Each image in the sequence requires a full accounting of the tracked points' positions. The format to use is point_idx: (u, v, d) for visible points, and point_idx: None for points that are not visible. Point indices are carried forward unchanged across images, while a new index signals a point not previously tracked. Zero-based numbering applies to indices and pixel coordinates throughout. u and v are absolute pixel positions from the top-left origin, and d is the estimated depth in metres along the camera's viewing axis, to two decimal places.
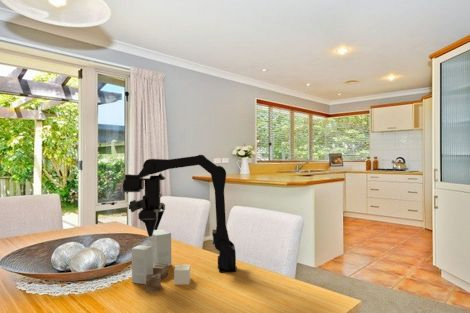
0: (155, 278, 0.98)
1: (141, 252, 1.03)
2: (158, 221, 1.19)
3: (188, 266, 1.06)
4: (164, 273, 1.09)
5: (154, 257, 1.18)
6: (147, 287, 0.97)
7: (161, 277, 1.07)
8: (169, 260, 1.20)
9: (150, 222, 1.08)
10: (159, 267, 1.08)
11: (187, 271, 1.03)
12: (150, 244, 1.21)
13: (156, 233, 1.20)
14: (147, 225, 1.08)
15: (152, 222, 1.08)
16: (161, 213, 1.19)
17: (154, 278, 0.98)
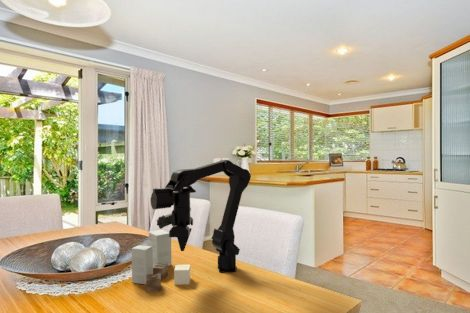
0: (155, 278, 0.98)
1: (141, 252, 1.03)
2: None
3: (188, 266, 1.06)
4: (164, 273, 1.09)
5: (154, 257, 1.18)
6: (147, 287, 0.97)
7: (161, 277, 1.07)
8: (169, 260, 1.20)
9: (182, 236, 1.04)
10: (159, 267, 1.08)
11: (187, 271, 1.03)
12: (150, 244, 1.21)
13: (156, 233, 1.20)
14: (179, 239, 1.04)
15: (185, 236, 1.03)
16: (189, 231, 1.06)
17: (154, 278, 0.98)
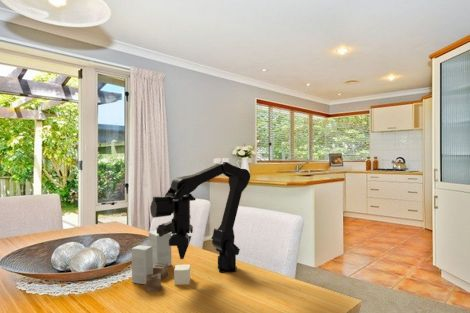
0: (155, 278, 0.98)
1: (141, 252, 1.03)
2: None
3: (188, 266, 1.06)
4: (164, 273, 1.09)
5: (154, 257, 1.18)
6: (147, 287, 0.97)
7: (161, 277, 1.07)
8: (169, 260, 1.20)
9: None
10: (159, 267, 1.08)
11: (187, 271, 1.03)
12: (150, 244, 1.21)
13: (156, 233, 1.20)
14: (179, 247, 1.03)
15: None
16: (188, 239, 1.06)
17: (154, 278, 0.98)
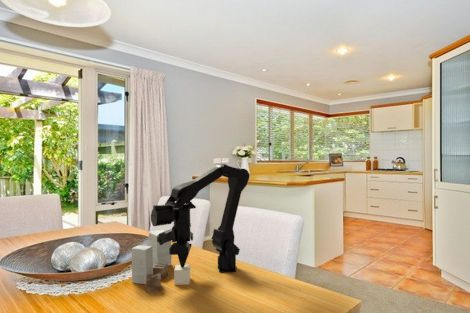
0: (155, 278, 0.98)
1: (141, 252, 1.03)
2: None
3: (188, 266, 1.06)
4: (164, 273, 1.09)
5: (154, 257, 1.18)
6: (147, 287, 0.97)
7: (161, 277, 1.07)
8: (169, 260, 1.20)
9: None
10: (159, 267, 1.08)
11: (187, 271, 1.03)
12: (150, 244, 1.21)
13: (156, 233, 1.20)
14: (179, 256, 1.04)
15: None
16: (189, 247, 1.06)
17: (154, 278, 0.98)
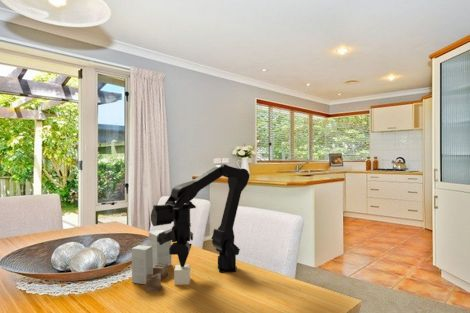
0: (155, 278, 0.98)
1: (141, 252, 1.03)
2: None
3: (188, 266, 1.06)
4: (164, 273, 1.09)
5: (154, 257, 1.18)
6: (147, 287, 0.97)
7: (161, 277, 1.07)
8: (169, 260, 1.20)
9: None
10: (159, 267, 1.08)
11: (187, 271, 1.03)
12: (150, 244, 1.21)
13: (156, 233, 1.20)
14: (179, 255, 1.04)
15: None
16: (189, 247, 1.06)
17: (154, 278, 0.98)
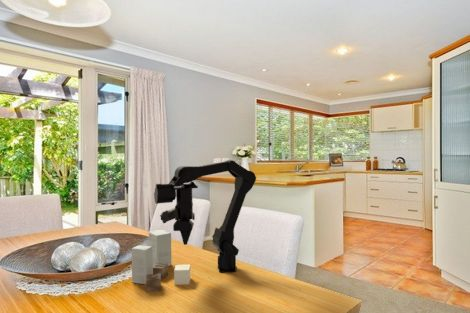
0: (155, 278, 0.98)
1: (141, 252, 1.03)
2: None
3: (188, 266, 1.06)
4: (164, 273, 1.09)
5: (154, 257, 1.18)
6: (147, 287, 0.97)
7: (161, 277, 1.07)
8: (169, 260, 1.20)
9: (185, 230, 1.07)
10: (159, 267, 1.08)
11: (187, 271, 1.03)
12: (150, 244, 1.21)
13: (156, 233, 1.20)
14: (182, 233, 1.07)
15: (188, 230, 1.07)
16: None
17: (154, 278, 0.98)
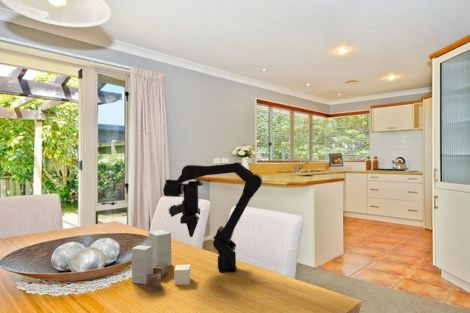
0: (155, 278, 0.98)
1: (141, 252, 1.03)
2: None
3: (188, 266, 1.06)
4: (164, 273, 1.09)
5: (154, 257, 1.18)
6: (147, 287, 0.97)
7: (161, 277, 1.07)
8: (169, 260, 1.20)
9: (191, 223, 1.17)
10: (159, 267, 1.08)
11: (187, 271, 1.03)
12: (150, 244, 1.21)
13: (156, 233, 1.20)
14: (189, 226, 1.17)
15: (193, 223, 1.16)
16: None
17: (154, 278, 0.98)
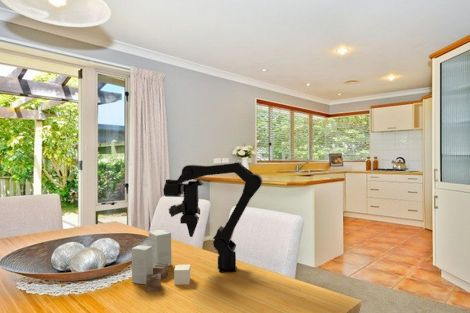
0: (155, 278, 0.98)
1: (141, 252, 1.03)
2: None
3: (188, 266, 1.06)
4: (164, 273, 1.09)
5: (154, 257, 1.18)
6: (147, 287, 0.97)
7: (161, 277, 1.07)
8: (169, 260, 1.20)
9: (191, 223, 1.17)
10: (159, 267, 1.08)
11: (187, 271, 1.03)
12: (150, 244, 1.21)
13: (156, 233, 1.20)
14: (189, 226, 1.17)
15: (193, 223, 1.16)
16: None
17: (154, 278, 0.98)
